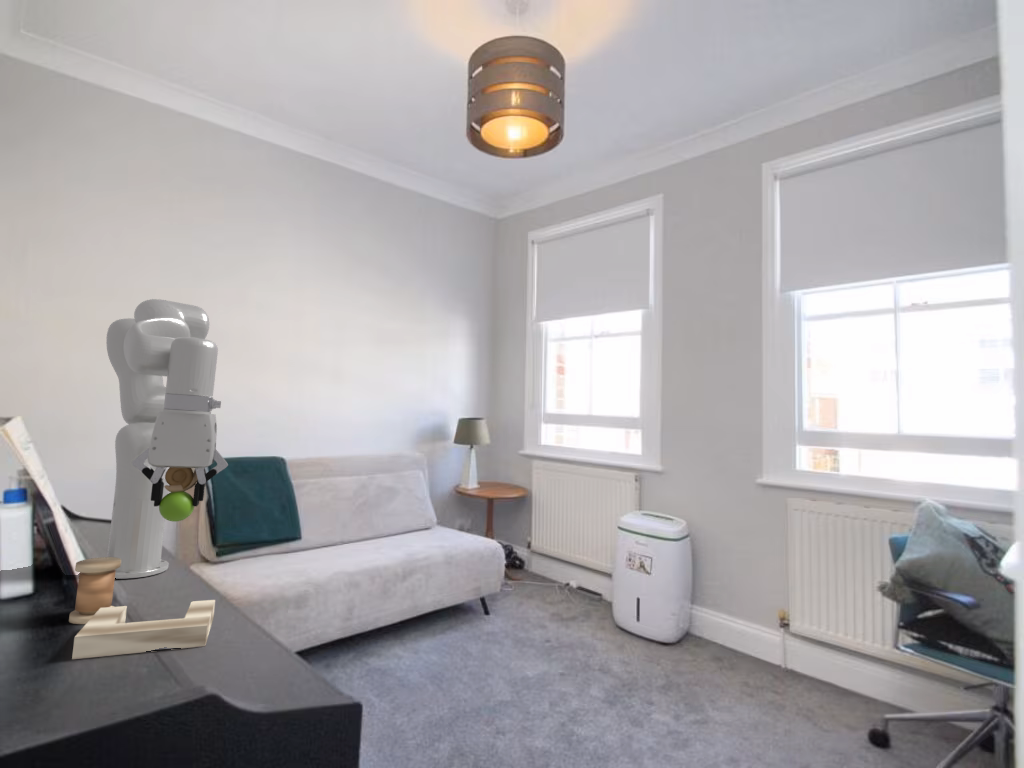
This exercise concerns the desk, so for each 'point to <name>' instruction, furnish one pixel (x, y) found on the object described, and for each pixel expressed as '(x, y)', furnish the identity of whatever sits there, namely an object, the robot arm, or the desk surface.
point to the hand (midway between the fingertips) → (177, 504)
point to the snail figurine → (178, 494)
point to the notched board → (142, 632)
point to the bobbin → (94, 587)
